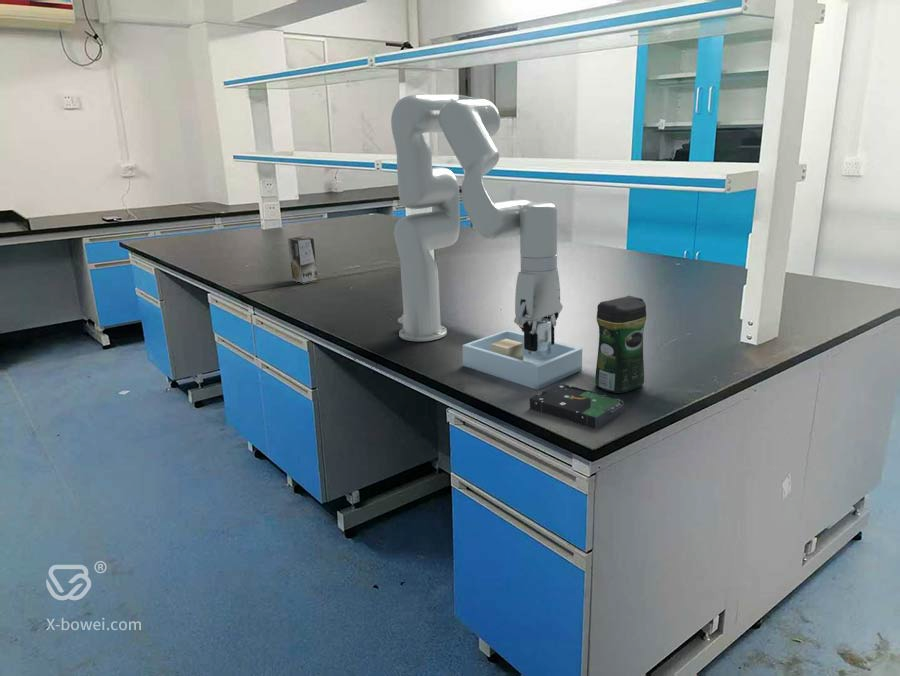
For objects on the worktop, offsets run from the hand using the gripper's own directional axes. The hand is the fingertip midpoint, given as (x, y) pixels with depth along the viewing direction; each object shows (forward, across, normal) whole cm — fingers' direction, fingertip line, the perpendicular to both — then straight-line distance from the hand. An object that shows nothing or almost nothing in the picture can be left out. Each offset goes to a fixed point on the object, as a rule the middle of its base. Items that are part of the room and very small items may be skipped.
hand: (539, 346), depth 141 cm
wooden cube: (+5, +2, -7) cm, 9 cm away
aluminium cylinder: (+1, 0, 0) cm, 1 cm away
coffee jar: (+7, -5, +17) cm, 19 cm away
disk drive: (+7, +10, +17) cm, 21 cm away
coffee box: (+5, -17, -125) cm, 126 cm away
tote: (+6, 0, -5) cm, 8 cm away
